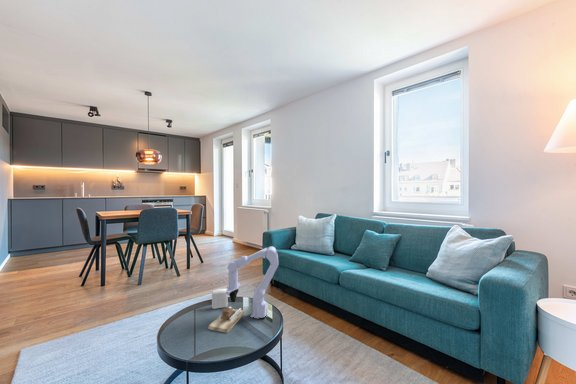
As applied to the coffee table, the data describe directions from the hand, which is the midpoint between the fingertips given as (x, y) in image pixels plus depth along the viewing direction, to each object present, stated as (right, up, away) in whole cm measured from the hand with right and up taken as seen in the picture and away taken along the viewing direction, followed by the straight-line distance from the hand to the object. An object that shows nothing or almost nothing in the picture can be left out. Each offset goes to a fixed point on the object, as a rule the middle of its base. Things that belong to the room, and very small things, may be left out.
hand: (233, 301), depth 167 cm
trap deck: (-2, -9, -6) cm, 11 cm away
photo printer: (-11, -9, +11) cm, 18 cm away
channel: (-1, -7, -3) cm, 8 cm away
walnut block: (-2, -7, -6) cm, 10 cm away
